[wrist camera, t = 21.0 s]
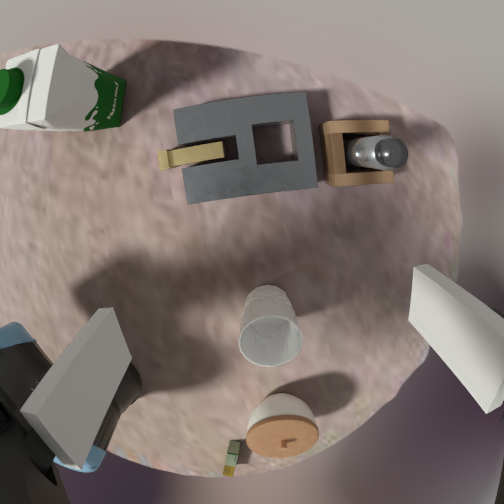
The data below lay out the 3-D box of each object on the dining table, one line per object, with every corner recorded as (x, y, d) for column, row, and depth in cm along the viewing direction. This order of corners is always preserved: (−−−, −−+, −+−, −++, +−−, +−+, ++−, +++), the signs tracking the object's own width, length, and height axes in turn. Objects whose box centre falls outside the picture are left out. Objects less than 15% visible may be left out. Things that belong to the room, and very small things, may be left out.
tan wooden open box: (325, 183, 39) (335, 186, 34) (319, 125, 36) (328, 121, 31) (378, 178, 38) (394, 182, 34) (373, 123, 36) (388, 120, 31)
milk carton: (82, 80, 33) (-7, 52, 14) (134, 74, 33) (54, 29, 14) (75, 134, 36) (-22, 135, 17) (125, 133, 36) (35, 125, 17)
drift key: (168, 168, 38) (160, 170, 34) (165, 151, 37) (157, 151, 34) (226, 158, 37) (223, 158, 34) (223, 141, 37) (221, 139, 33)
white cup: (253, 272, 43) (253, 306, 33) (302, 291, 44) (314, 327, 34) (233, 316, 45) (229, 356, 36) (279, 332, 46) (285, 373, 37)
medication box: (229, 439, 56) (226, 452, 52) (241, 441, 56) (239, 454, 52) (224, 463, 59) (222, 475, 55) (235, 465, 59) (233, 477, 55)
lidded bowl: (233, 405, 52) (230, 450, 41) (281, 372, 49) (287, 419, 38) (277, 430, 54) (280, 471, 44) (324, 401, 52) (335, 444, 41)
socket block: (193, 199, 39) (187, 204, 36) (181, 114, 36) (173, 109, 32) (311, 184, 39) (317, 187, 35) (300, 97, 35) (305, 91, 31)
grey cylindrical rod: (338, 165, 38) (380, 172, 25) (335, 139, 37) (376, 134, 23) (362, 164, 38) (412, 171, 24) (360, 138, 37) (409, 134, 23)
